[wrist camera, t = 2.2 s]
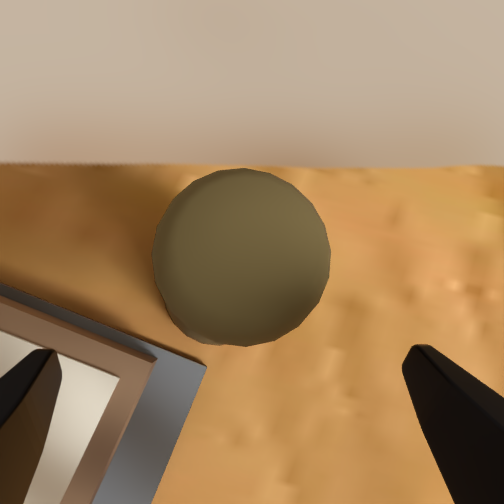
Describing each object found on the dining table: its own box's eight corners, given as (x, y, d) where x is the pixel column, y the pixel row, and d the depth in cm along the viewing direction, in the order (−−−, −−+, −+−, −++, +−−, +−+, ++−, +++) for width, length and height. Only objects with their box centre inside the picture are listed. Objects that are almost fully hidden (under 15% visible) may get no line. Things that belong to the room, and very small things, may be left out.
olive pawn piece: (140, 303, 18) (67, 268, 8) (206, 218, 20) (223, 92, 9) (232, 368, 18) (287, 422, 8) (290, 277, 20) (401, 220, 9)
